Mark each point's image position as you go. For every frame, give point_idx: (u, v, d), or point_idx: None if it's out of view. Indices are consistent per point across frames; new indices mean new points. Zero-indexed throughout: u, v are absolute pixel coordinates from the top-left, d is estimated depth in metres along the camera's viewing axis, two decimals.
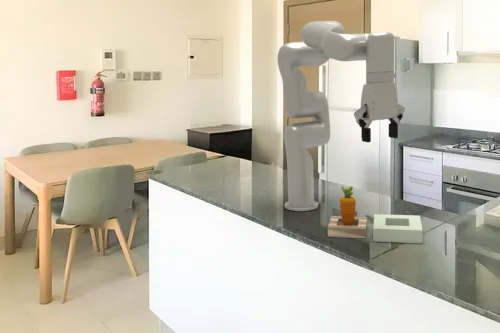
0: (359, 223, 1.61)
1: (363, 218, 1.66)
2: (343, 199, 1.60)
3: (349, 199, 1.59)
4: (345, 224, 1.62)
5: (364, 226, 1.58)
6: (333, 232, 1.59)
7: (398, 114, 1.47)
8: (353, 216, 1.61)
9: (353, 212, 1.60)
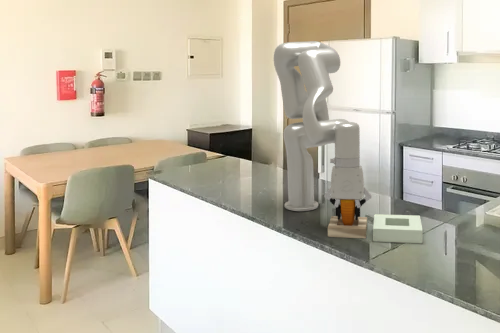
0: (359, 223, 1.61)
1: (363, 218, 1.66)
2: (343, 199, 1.60)
3: None
4: (345, 224, 1.62)
5: (364, 226, 1.58)
6: (333, 232, 1.59)
7: (333, 198, 1.62)
8: (353, 216, 1.61)
9: (353, 212, 1.60)
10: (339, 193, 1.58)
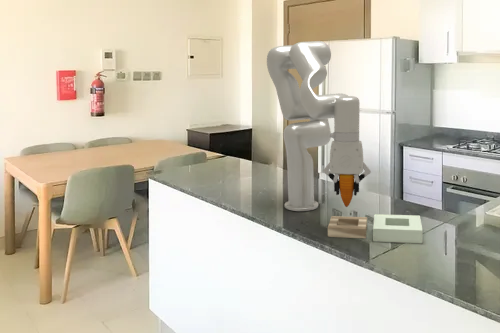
0: (359, 223, 1.61)
1: (363, 218, 1.66)
2: (342, 174, 1.59)
3: None
4: (344, 199, 1.61)
5: (364, 226, 1.58)
6: (333, 232, 1.59)
7: (332, 173, 1.61)
8: (352, 191, 1.60)
9: (352, 187, 1.59)
10: (338, 168, 1.57)
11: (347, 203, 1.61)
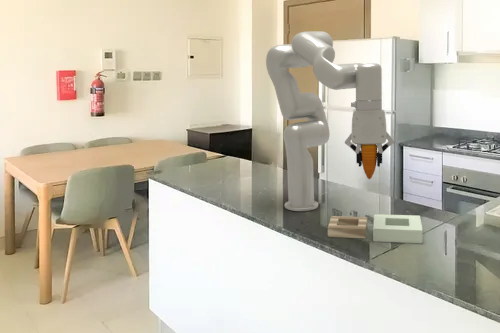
0: (359, 223, 1.61)
1: (363, 218, 1.66)
2: None
3: (370, 144, 1.53)
4: (366, 171, 1.56)
5: (364, 226, 1.58)
6: (333, 232, 1.59)
7: None
8: (375, 162, 1.55)
9: (375, 158, 1.54)
10: (360, 138, 1.53)
11: (370, 175, 1.56)
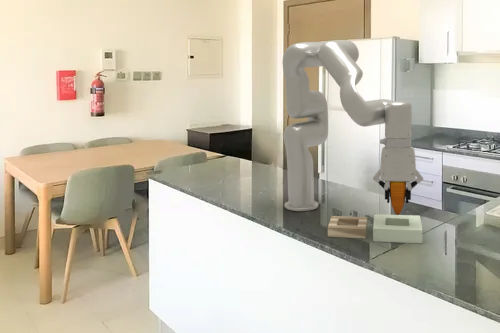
0: (359, 223, 1.61)
1: (363, 218, 1.66)
2: None
3: None
4: (395, 207, 1.55)
5: (364, 226, 1.58)
6: (333, 232, 1.59)
7: None
8: (403, 199, 1.55)
9: (404, 195, 1.54)
10: (390, 175, 1.52)
11: (398, 211, 1.56)
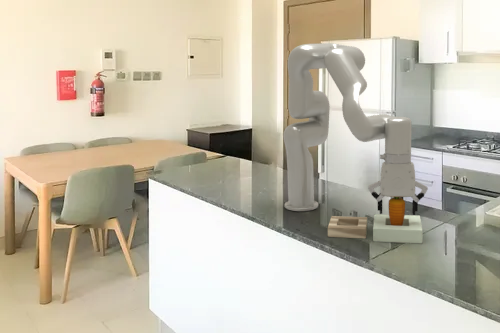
0: (359, 223, 1.61)
1: (363, 218, 1.66)
2: (392, 201, 1.55)
3: (399, 201, 1.55)
4: None
5: (364, 226, 1.58)
6: (333, 232, 1.59)
7: (375, 192, 1.58)
8: (402, 218, 1.56)
9: (402, 214, 1.56)
10: (389, 190, 1.53)
11: None
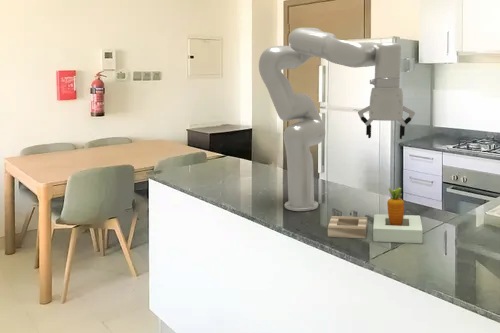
0: (359, 223, 1.61)
1: (363, 218, 1.66)
2: (391, 201, 1.55)
3: (397, 201, 1.55)
4: None
5: (364, 226, 1.58)
6: (333, 232, 1.59)
7: (364, 117, 1.64)
8: (402, 218, 1.56)
9: (402, 214, 1.56)
10: (378, 114, 1.59)
11: None
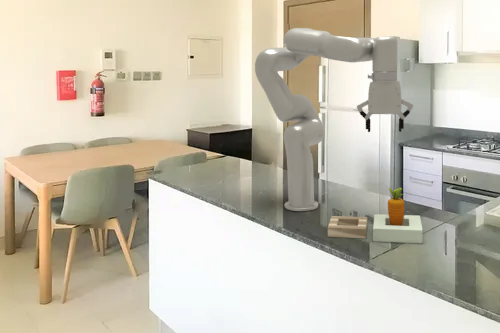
0: (359, 223, 1.61)
1: (363, 218, 1.66)
2: (391, 201, 1.55)
3: (398, 201, 1.54)
4: None
5: (364, 226, 1.58)
6: (333, 232, 1.59)
7: (363, 111, 1.65)
8: (402, 218, 1.56)
9: (402, 214, 1.56)
10: (377, 107, 1.61)
11: None
